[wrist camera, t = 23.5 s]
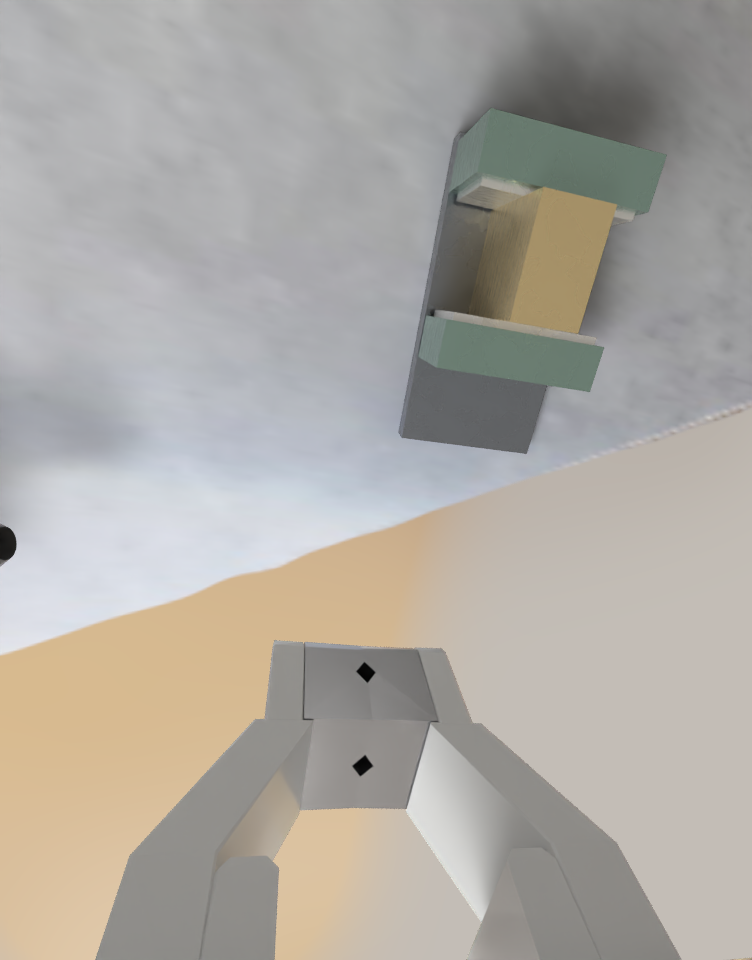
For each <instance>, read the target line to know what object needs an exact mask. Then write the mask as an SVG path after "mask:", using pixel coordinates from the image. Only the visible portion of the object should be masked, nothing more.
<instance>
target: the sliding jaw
mask: <svg viewBox="0 0 752 960" xmlns="http://www.w3.org/2000/svg"><path fill="white" fill-rule="evenodd" d="M595 341H596V338H595V337H590V336H584V335H579V334H573V333H568V332H562V331H556V330H551V329H545V328H540V327H534V326H529V325H523V324H518V323H512V322H507V321H501V320H496V319H490V318H485V317H479V316H474V315H468V314H463V313H457V312H451V311H443V310H435V312H434V317H433V316H427V315H426V319H425V324H424V329H423V334H422V340H421V345H420V350H419V355H418V357H419V358H421V359H423V360H424V361H426V362H428V363H430V364H431V365H433V366H435V367H436V368H442V369H448V370H454V371H461V372H467V373H473V374H480V375H486V376H492V377H499V378H505V379H511V380H518V381H524V382H530V383H537V384H543V385H549V386H556V387H562V388H568V389H575V390H581V391H587V392H590V390H591V387H592V384H593V380H594V377H595V374H596V371H597V368H598V365H599V362H600V359H601V356H602V353H603V350H604V347H600V346H595Z"/></svg>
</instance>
